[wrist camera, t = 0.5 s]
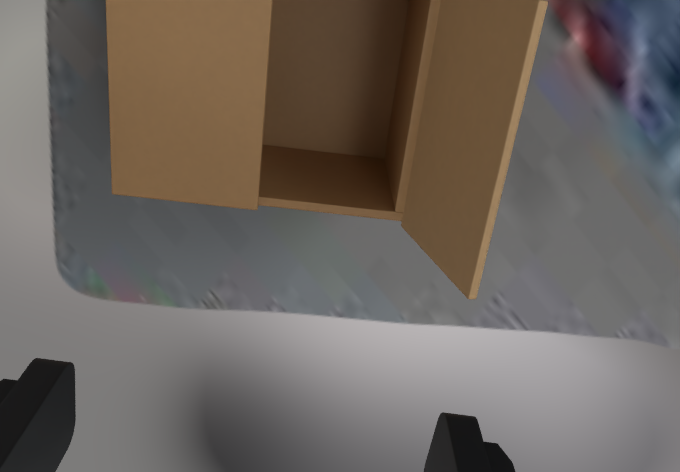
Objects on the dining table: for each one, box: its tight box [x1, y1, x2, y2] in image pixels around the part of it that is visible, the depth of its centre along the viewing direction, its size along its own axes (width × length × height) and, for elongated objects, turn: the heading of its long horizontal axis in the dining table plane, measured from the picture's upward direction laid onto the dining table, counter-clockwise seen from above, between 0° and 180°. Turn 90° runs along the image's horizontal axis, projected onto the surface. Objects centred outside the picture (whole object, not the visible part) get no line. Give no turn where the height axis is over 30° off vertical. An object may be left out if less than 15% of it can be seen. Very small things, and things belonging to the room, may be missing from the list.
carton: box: [106, 0, 441, 221], centre depth 35 cm, size 15×12×10 cm
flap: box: [401, 0, 548, 299], centre depth 27 cm, size 7×12×1 cm
